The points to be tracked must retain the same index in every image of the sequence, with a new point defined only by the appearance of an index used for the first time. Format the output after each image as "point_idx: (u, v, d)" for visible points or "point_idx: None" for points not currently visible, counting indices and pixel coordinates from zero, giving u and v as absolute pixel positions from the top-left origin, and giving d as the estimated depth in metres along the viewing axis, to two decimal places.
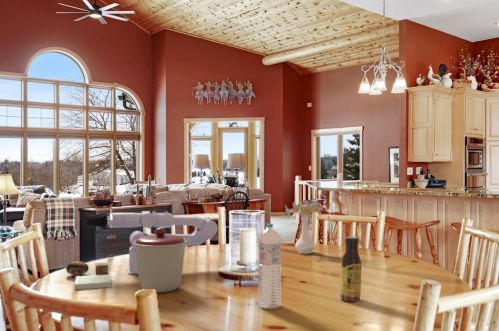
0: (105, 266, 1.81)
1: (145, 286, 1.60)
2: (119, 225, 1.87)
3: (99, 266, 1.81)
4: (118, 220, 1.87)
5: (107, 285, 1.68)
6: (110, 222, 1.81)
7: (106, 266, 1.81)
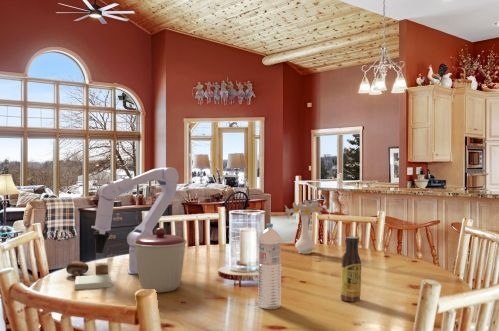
0: (105, 266, 1.81)
1: (145, 286, 1.60)
2: (108, 220, 1.82)
3: (99, 266, 1.81)
4: (102, 221, 1.81)
5: (107, 285, 1.68)
6: (102, 231, 1.76)
7: (106, 266, 1.81)
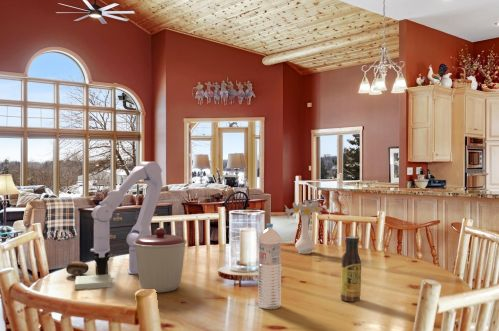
0: None
1: (145, 286, 1.60)
2: (106, 242, 1.81)
3: None
4: (101, 243, 1.80)
5: (107, 285, 1.68)
6: (101, 254, 1.76)
7: (106, 266, 1.81)
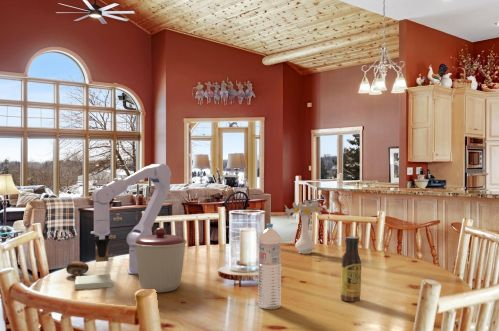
0: None
1: (145, 286, 1.60)
2: (107, 224, 1.81)
3: None
4: (101, 226, 1.80)
5: (107, 285, 1.68)
6: (101, 236, 1.76)
7: (106, 249, 1.81)
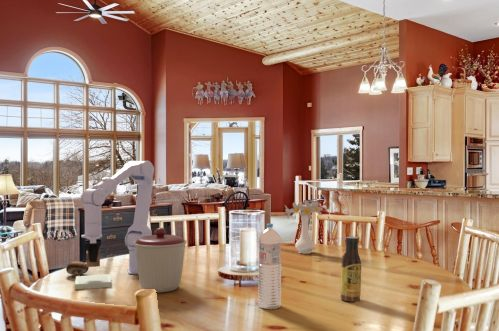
0: None
1: (145, 286, 1.60)
2: (98, 227, 1.71)
3: None
4: (92, 229, 1.70)
5: (107, 285, 1.68)
6: (92, 240, 1.65)
7: (98, 253, 1.71)
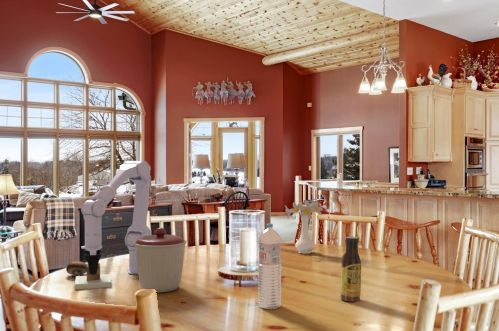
0: None
1: (145, 286, 1.60)
2: (98, 238, 1.71)
3: None
4: (92, 240, 1.70)
5: (107, 285, 1.68)
6: (93, 252, 1.65)
7: (98, 267, 1.71)
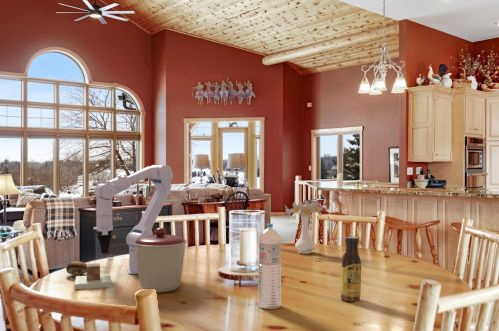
0: (97, 267, 1.71)
1: (145, 286, 1.60)
2: (109, 220, 1.81)
3: (90, 267, 1.70)
4: (103, 221, 1.79)
5: (107, 285, 1.68)
6: (104, 232, 1.75)
7: (98, 267, 1.71)
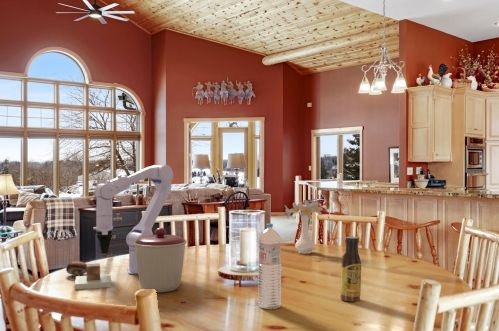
0: (97, 267, 1.71)
1: (145, 286, 1.60)
2: (109, 220, 1.81)
3: (90, 267, 1.70)
4: (103, 221, 1.79)
5: (107, 285, 1.68)
6: (104, 232, 1.75)
7: (98, 267, 1.71)
